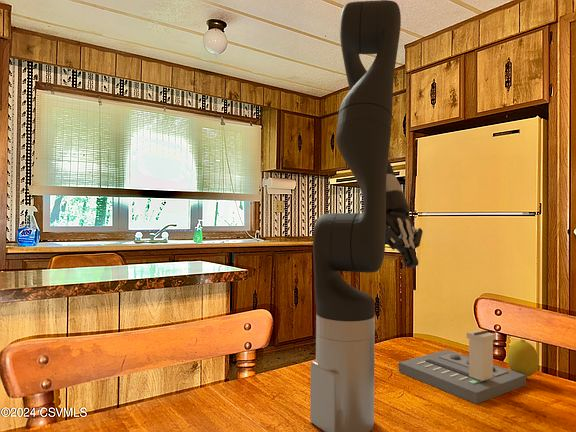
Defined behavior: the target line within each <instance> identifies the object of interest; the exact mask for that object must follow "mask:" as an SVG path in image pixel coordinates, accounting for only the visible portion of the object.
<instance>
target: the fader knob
mask: <svg viewBox="0 0 576 432" xmlns="http://www.w3.org/2000/svg"><path fill="white" fill-rule="evenodd" d="M496 336H497V335H496V334H495V333H492V332H489V330H488V329H485V330H480V329H477V330H473V331H468V332H466V339H468V341H469V342H468V357H469V376H470V377H473V378H476V379H478V380H481V381H484V380H487V379H490V378H493V364H494V341H495V340H496Z"/></svg>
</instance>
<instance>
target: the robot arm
mask: <svg viewBox="0 0 576 432" xmlns="http://www.w3.org/2000/svg"><path fill="white" fill-rule="evenodd" d="M401 17H402V16H401V9H400V6H399V4H398V2H397V1H394V0H364V1H361V0H360V1H359V0H358V1H351V2H347V3H345V5H344V6H343V8H342V11H341V14H340V22H339V39H340V40H339V41H340V48H341V53H342V60H343V64H344V65H343V66H344V70H345V75H346V80H347V84H348V88H349V91H348V93H347V94H346V95H345V96H344V98H343V100H342V102H341V104H340V106H339V108H338V109H339V110H338V116H337V117H338V118H337V126H336V127H337V128H336V135H335V140H336V141H335V142H336V146H337V149H338V151H339V153H340V155H341V157H342V159H343V161H344V162H345V164H346V165H347V167H348V169H349V170H350V172H351V174H352V175H353V177H354V178H355V180H356V183H357V185H358V186H359V189H360V191H361V194H362V199H363V210H362V212H359V213H358V212H354V213H353V212H343V213H342V212H341V213H339V212H337V213H336V212H333V213H323V214H321V215H320V216H318V218H317V220H316V221H315V224H314V230H313V238H312V255H313V270H314V271H313V272H314V273H313V274H314V298H315V308H316V309H315V313H316V315H315V317H316V318H315V319H316V320H315V325H316V326H315V361H312V362H310V390H309V391H310V393H309V394H310V399H309V400H310V402H309V403H310V405H309V408H310V410H309V411H310V413H309V415H310V417H309V418H310V420H309V421H310V423H311V424H314V426H316V427H317V428H319V429H320V430H322V431H323V432H371V431H372V430H373V429H374V427H375V348H376V347H375V344H376V343H375V342H376V341H375V334H376V333H375V329H376V328H375V327H376V326H375V325H376V316H375V315H376V305H375V304H376V303H375V299H374V297H372V296H371V295H370V294H368V293H366V292H364V291H362V290H360V289H357V288H356V287H354V286H352V285H350V284H349V283H348V282H347V281H346V280H345V279H344V278H343V277H342V275H341V272H347V273H349V272H350V273H362V274H363V273H367V274H368V273H369V274H370V273H371V274H372V273H376V272H378V271H379V270H380V269H381V267H382V266H383V262H384V258H385V251H386V244H387V245H388V246H389V248H390V249H392V250H393V251H394V250H396V251H397V252H398V253H400V255H401V257H402V261H403V263H404V265H405V267H406V268H407V269H415V267H417V266H419V260H418V257H417V253H416V252H415V249H417V248H419V247H420V246H421V245H420V244H421V240H422V237H423V232H424V231H423V229H422V228H421V227H418V228H416V227H414V225H413V221H412V220H411V219H410V217H409V213H410V210H411V209H410V206H409V204H408V200H407V198H406V196H405V193H404V191H403V188H402V186H401V184H400V182H399V180H398V179H397V177H396V175H395V171H394V169H393V166H392V164H391V162H390V160H389V155H390V146H391V137H392V136H391V135H392V125H393V124H392V123H393V106H394V105H393V104H394V103H393V101H394V80H395V79H394V78H395V73H396V72H395V71H396V65H397V63H396V62H397V57H398V56H397V55H398V49H399V41H400V35H401V22H402V18H401ZM360 55H376V56H375V58H374V61H373V62H372V64H371V65H370V67H369V68H368V70H367V69H366V67H365V65H364V64H363V62H362V60H361V57H360Z"/></svg>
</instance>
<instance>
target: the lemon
mask: <svg viewBox="0 0 576 432" xmlns="http://www.w3.org/2000/svg"><path fill="white" fill-rule="evenodd" d="M506 356H507V357H506V360H507V365H508V367H509V368H510V370H512V371H516V372H519V373H522V374H525V375H526V378H527V377H531V376H533V375H534V374H535V373H536V372H537V371H538V368H539V357H538V353H537V349H536V348H535V347H534V346H533V345H532V344H531V343H529V342H528V341H527V340H525V339H524V338H523V339H522V338H521V339H519V340H516V341H514V342H513V343H511V344H510V345H509V347H508V350H507V355H506Z"/></svg>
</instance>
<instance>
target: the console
mask: <svg viewBox="0 0 576 432" xmlns="http://www.w3.org/2000/svg"><path fill="white" fill-rule="evenodd" d="M398 373H401V374H403V375H406V376H408V377H409V378H412V379H416V380H417V381H419V382H423V383H425V384H427V385H429V386H431V387H435V388H436V389H439V390H441V391H444V392H446V393H448V394H450V395H452V396H453V395H454V396H455V397H458V398H460V399H463V400H465V401H468V402H470V403H472V404H475V405H478V404H481V403H483V402H485V401H488V400H491V399H493V398H497V397H499V396H501V395H504V394H507V393H509V392H511V391H514V390H517V389H519V388H521V387H524V386H526V385H527V377H526V375H525V374H522V373H519V372H516V371H512V370H511V369H508V368H505V367H502V366H499V365H496V364H494V363H493V378H490V379H487V380H484V381H481V380H478V379H476V378H473V377H470V376H469V355H465V354H462V353H459V352H455V351H452V350H449V349H445V350H441V351H437V352H433V353H430V354H425V355H422V356H418V357H417V356H416V357H413V358H410V359H406V360H403V361H399V362H398Z"/></svg>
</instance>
